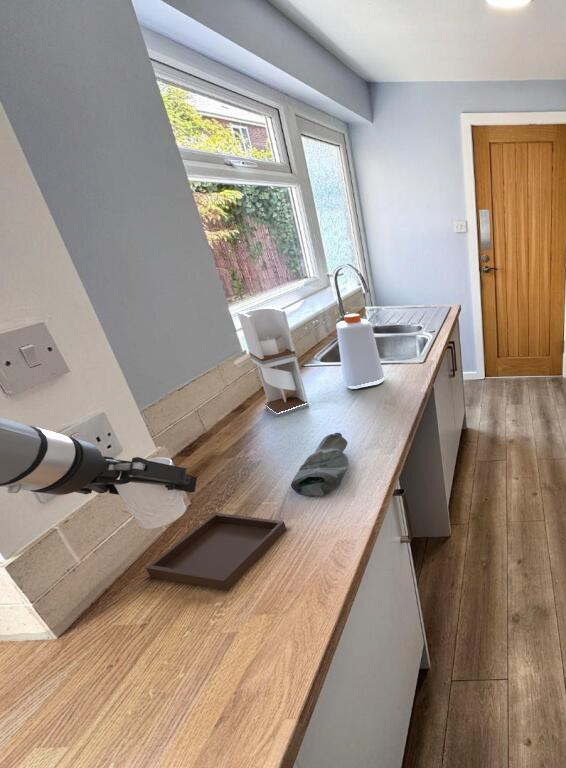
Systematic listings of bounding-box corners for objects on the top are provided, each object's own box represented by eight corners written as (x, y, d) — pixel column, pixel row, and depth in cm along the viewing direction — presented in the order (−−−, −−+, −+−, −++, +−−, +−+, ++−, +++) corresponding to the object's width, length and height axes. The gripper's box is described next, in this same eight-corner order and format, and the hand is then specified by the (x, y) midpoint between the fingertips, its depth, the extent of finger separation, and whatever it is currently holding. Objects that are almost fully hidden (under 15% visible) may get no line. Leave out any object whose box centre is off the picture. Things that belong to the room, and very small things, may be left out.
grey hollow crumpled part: (341, 498, 97) (365, 442, 120) (333, 474, 94) (358, 421, 117) (286, 506, 97) (320, 449, 119) (276, 483, 94) (313, 428, 116)
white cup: (149, 507, 75) (127, 461, 71) (197, 498, 77) (179, 453, 73) (125, 536, 68) (100, 488, 64) (179, 526, 70) (158, 478, 66)
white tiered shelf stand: (265, 407, 146) (237, 312, 132) (296, 398, 153) (272, 306, 140) (277, 416, 139) (248, 317, 125) (308, 406, 146) (284, 310, 132)
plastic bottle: (347, 392, 156) (333, 322, 145) (342, 380, 169) (328, 314, 158) (387, 384, 163) (376, 316, 152) (379, 373, 175) (368, 309, 164)
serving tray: (150, 577, 77) (145, 567, 76) (219, 521, 91) (215, 512, 90) (227, 590, 74) (223, 581, 73) (286, 530, 88) (284, 521, 87)
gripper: (-56, 501, 51) (100, 515, 72) (126, 482, 53) (226, 501, 74) (-33, 442, 53) (111, 473, 74) (139, 427, 56) (231, 461, 77)
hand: (168, 487), depth 74 cm, fingers closed on white cup, 8 cm apart
